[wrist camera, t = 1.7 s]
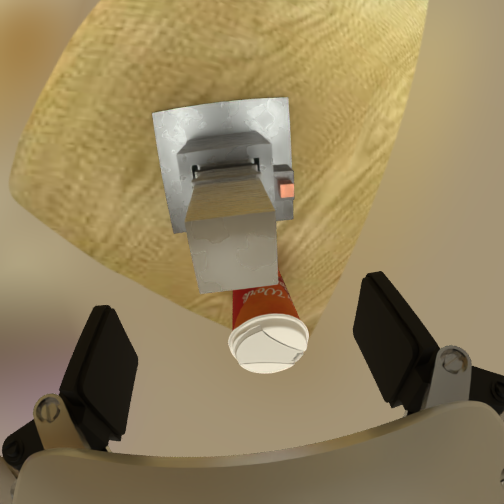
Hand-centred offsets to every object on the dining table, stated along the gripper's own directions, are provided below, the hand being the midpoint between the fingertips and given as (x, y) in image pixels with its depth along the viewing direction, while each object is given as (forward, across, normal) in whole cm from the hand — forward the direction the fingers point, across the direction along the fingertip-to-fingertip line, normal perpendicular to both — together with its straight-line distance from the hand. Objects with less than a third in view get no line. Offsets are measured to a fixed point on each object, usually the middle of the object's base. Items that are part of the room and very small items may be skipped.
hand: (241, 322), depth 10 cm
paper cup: (+24, -2, +13) cm, 27 cm away
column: (+22, 0, -1) cm, 22 cm away
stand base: (+23, 0, -1) cm, 23 cm away
